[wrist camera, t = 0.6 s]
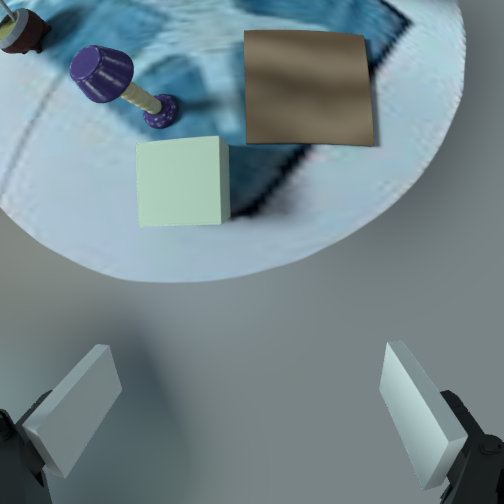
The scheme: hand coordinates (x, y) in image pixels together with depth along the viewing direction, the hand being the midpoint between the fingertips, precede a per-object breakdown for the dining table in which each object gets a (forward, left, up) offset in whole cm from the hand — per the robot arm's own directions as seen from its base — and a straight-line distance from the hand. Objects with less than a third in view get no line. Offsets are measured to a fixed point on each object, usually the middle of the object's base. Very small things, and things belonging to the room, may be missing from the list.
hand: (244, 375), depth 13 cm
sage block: (-9, -7, -23) cm, 26 cm away
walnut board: (-20, +6, -23) cm, 31 cm away
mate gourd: (-35, -33, -23) cm, 53 cm away
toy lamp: (-18, -11, -23) cm, 31 cm away
